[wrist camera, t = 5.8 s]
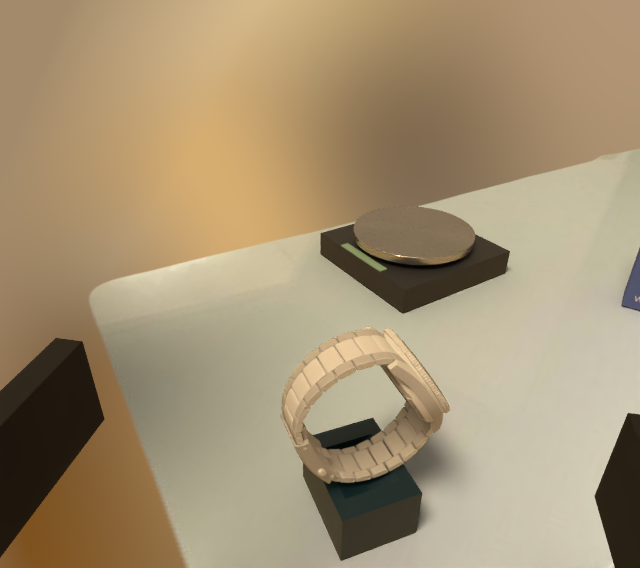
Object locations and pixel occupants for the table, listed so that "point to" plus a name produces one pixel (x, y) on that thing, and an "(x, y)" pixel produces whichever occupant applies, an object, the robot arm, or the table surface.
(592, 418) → the table surface
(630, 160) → the table surface
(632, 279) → the walkman
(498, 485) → the table surface
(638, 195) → the table surface
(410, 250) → the scale pan
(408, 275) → the scale
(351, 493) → the watch
